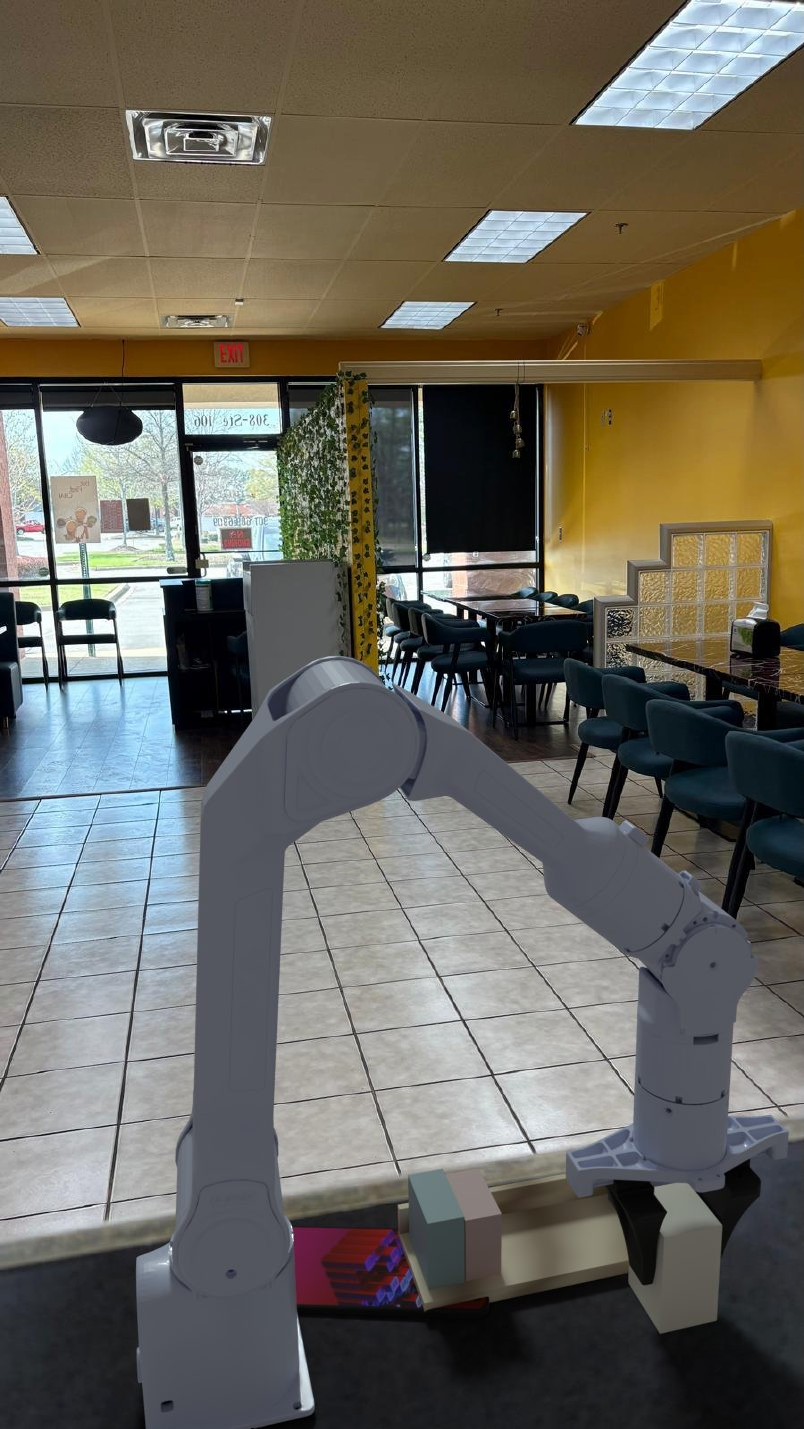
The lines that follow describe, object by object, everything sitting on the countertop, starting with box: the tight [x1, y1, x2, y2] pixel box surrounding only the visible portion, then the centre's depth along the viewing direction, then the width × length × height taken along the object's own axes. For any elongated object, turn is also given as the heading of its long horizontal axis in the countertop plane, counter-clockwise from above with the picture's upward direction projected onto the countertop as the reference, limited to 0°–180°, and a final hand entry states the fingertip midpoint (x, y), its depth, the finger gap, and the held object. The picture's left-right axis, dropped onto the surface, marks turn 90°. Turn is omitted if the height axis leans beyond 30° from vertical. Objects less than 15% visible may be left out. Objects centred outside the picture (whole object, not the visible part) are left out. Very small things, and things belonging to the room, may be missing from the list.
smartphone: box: [292, 1225, 490, 1320], centre depth 70 cm, size 8×1×15 cm
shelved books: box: [407, 1168, 502, 1290], centre depth 69 cm, size 5×5×5 cm
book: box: [627, 1182, 722, 1335], centre depth 66 cm, size 4×4×7 cm
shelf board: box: [397, 1173, 629, 1312], centre depth 71 cm, size 18×7×3 cm, turn 104°
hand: (673, 1266), depth 66 cm, fingers closed on book, 4 cm apart
